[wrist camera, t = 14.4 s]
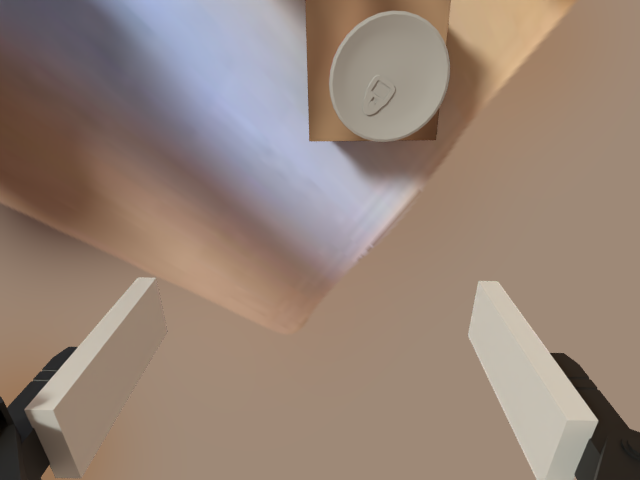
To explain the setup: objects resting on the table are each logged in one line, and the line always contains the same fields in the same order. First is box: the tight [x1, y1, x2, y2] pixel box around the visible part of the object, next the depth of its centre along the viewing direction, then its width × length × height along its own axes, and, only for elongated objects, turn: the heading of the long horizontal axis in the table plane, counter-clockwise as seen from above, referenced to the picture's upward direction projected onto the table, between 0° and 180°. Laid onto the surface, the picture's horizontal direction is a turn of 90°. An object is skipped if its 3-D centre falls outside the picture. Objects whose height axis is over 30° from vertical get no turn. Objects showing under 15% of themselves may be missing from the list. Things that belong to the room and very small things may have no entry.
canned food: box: [329, 11, 450, 142], centre depth 30 cm, size 8×8×11 cm
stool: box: [305, 0, 451, 141], centre depth 38 cm, size 12×12×7 cm
